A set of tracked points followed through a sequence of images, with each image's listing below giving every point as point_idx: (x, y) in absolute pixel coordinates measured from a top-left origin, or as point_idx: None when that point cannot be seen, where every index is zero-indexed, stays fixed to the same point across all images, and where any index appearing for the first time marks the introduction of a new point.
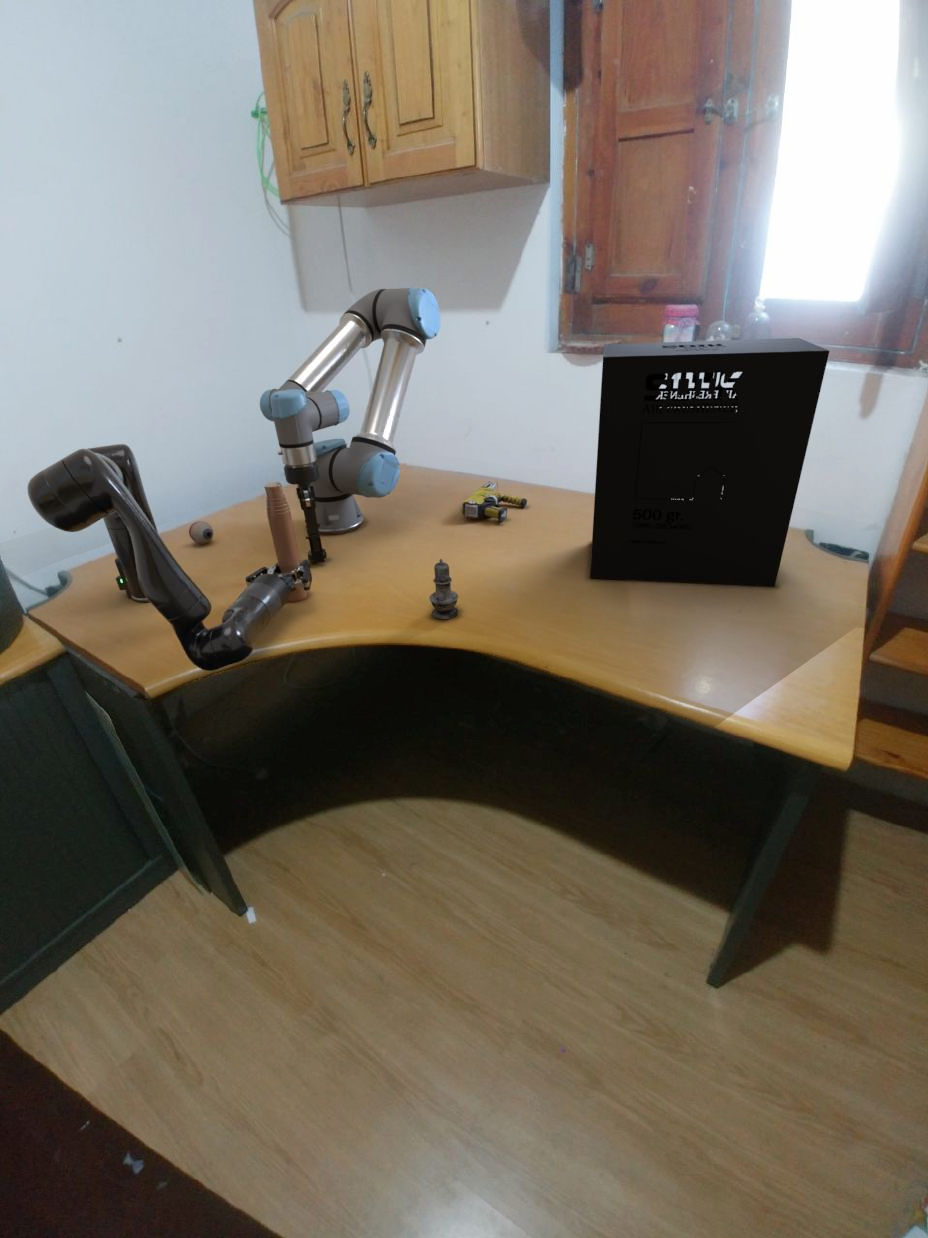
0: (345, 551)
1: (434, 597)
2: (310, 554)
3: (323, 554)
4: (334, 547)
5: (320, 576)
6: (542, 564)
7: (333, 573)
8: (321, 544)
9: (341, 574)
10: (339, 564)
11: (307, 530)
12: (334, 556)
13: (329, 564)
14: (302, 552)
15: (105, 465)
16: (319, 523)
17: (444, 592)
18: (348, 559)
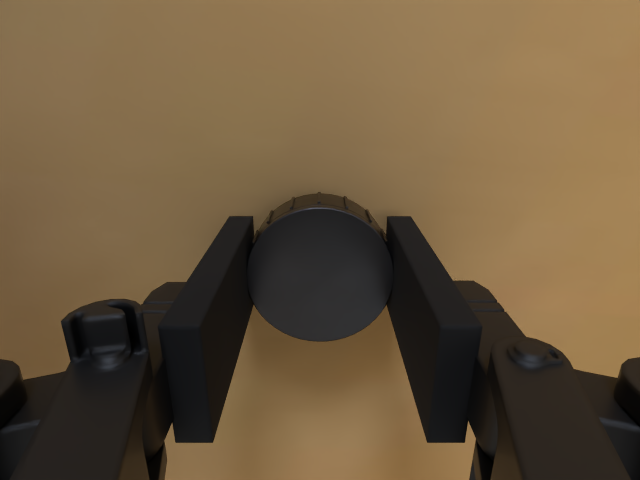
0: (188, 21)
1: None
2: (354, 324)
3: (374, 228)
4: (75, 105)
5: (558, 252)
6: None
7: (563, 166)
8: (450, 277)
9: (615, 112)
10: (430, 105)
11: (197, 437)
12: (261, 125)
13: (395, 177)
14: None
15: None
16: (67, 320)
17: None
18: (367, 18)
